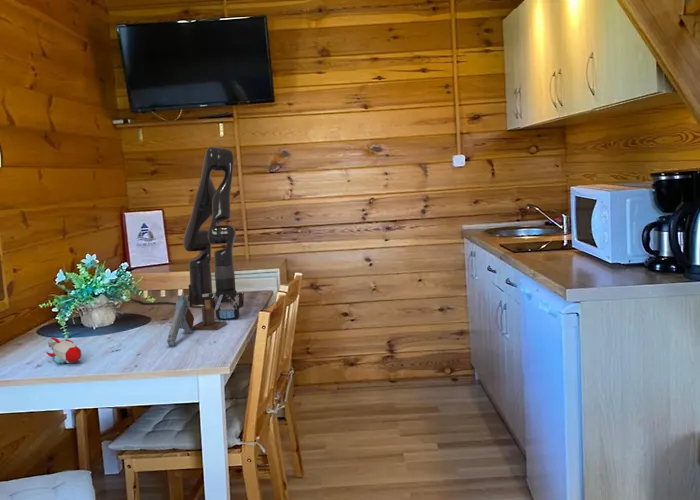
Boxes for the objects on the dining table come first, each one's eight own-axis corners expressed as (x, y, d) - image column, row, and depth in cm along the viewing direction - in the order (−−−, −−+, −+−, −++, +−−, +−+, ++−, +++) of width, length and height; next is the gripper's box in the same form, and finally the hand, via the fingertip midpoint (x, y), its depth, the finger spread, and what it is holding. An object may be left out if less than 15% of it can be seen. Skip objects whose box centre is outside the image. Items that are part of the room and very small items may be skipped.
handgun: (196, 317, 246) (188, 287, 236) (183, 368, 226) (173, 337, 217) (186, 318, 246) (178, 287, 237) (172, 368, 227) (163, 337, 217)
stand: (190, 329, 244) (189, 302, 243) (201, 323, 254) (199, 298, 253) (216, 329, 243) (215, 302, 242) (226, 323, 252) (225, 297, 251)
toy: (41, 356, 213) (40, 335, 213) (65, 353, 218) (64, 332, 217) (61, 368, 197) (60, 345, 197) (86, 364, 202) (85, 342, 201)
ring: (217, 318, 259) (216, 312, 259) (223, 315, 265) (222, 309, 265) (232, 318, 258) (232, 311, 258) (238, 314, 264) (237, 308, 264)
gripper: (245, 274, 262) (248, 316, 264) (211, 275, 265) (214, 317, 267) (239, 277, 255) (242, 320, 257) (203, 278, 258) (206, 321, 259)
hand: (227, 318), depth 262 cm, fingers closed on ring, 6 cm apart
